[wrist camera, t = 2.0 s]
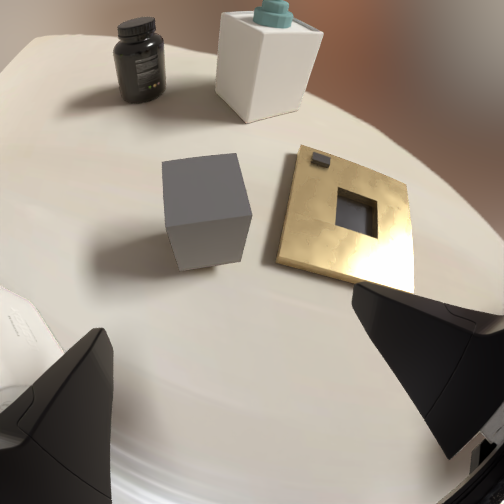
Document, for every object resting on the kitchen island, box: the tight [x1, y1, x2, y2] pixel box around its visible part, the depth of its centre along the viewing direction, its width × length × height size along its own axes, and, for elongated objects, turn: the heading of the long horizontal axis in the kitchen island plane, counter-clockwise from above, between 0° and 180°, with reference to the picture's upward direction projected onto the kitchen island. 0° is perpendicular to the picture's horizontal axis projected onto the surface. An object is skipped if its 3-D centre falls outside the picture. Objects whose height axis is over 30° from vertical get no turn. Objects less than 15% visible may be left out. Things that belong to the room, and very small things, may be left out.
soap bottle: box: [215, 0, 323, 123], centre depth 25 cm, size 9×9×19 cm
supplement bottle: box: [113, 17, 166, 103], centre depth 27 cm, size 7×7×12 cm
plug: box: [162, 153, 252, 271], centre depth 19 cm, size 5×5×9 cm
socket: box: [276, 145, 414, 294], centre depth 26 cm, size 14×14×2 cm
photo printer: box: [0, 286, 65, 413], centre depth 12 cm, size 10×4×12 cm, turn 48°
